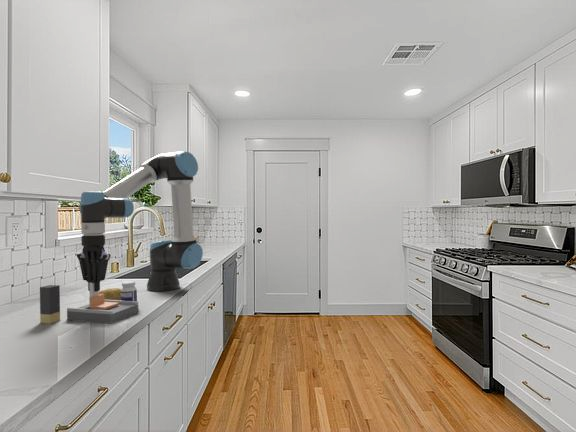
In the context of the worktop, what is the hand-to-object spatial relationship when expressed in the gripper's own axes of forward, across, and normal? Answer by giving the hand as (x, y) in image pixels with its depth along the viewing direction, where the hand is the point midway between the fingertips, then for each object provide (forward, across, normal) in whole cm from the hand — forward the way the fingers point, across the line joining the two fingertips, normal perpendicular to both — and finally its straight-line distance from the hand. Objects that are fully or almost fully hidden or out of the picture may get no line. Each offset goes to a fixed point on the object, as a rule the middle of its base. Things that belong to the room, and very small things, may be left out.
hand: (94, 300), depth 134 cm
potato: (+6, -7, +15) cm, 17 cm away
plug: (+5, -9, -10) cm, 14 cm away
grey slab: (+5, +4, 0) cm, 7 cm away
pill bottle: (+6, +5, +12) cm, 14 cm away
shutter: (+2, +4, 0) cm, 5 cm away
